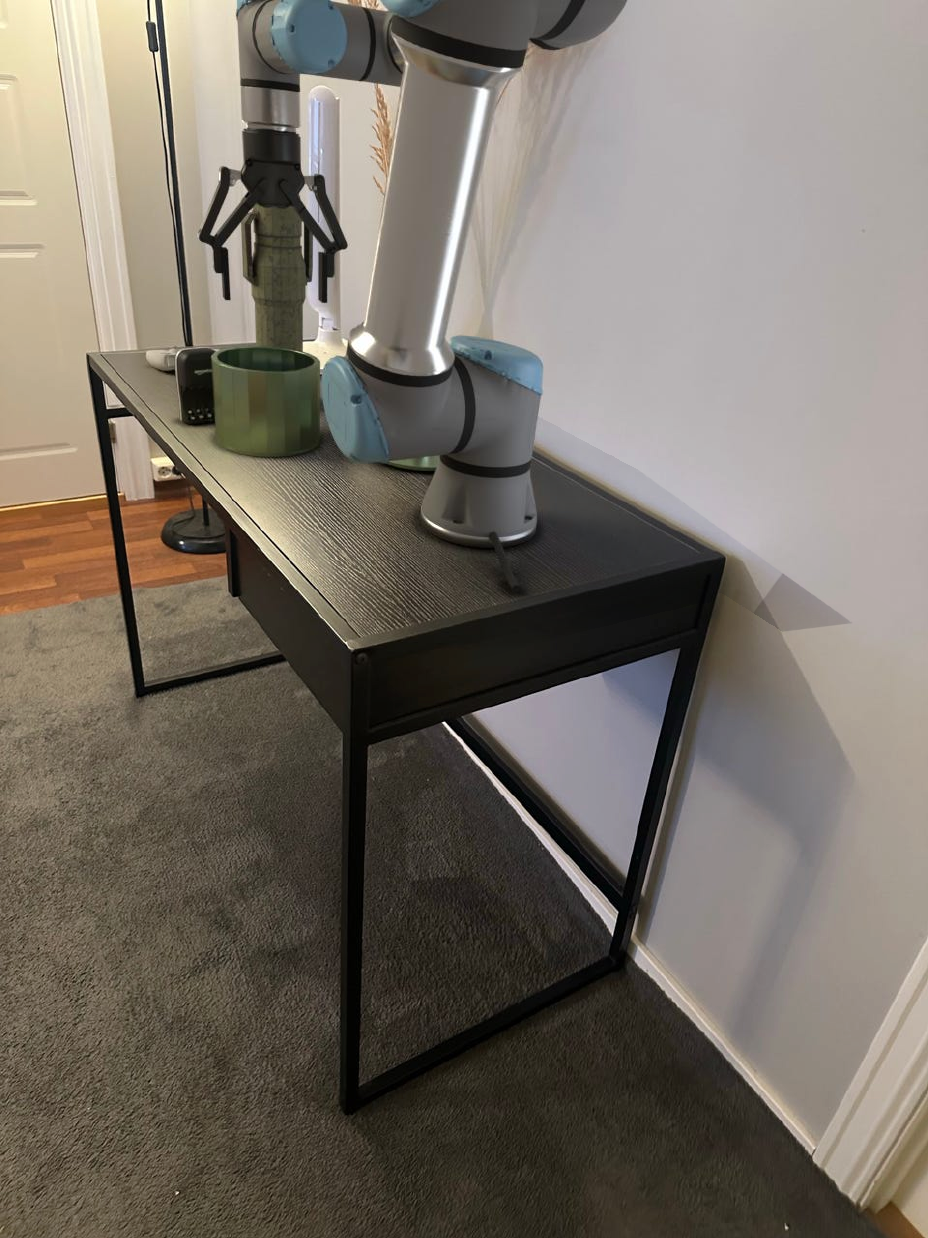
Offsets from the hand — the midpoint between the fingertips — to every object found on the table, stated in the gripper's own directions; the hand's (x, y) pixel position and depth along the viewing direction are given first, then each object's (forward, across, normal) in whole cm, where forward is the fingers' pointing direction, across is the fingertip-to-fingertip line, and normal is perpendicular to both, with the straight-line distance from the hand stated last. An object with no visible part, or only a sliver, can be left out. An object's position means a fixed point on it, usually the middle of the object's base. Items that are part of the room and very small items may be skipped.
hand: (275, 300), depth 119 cm
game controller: (+20, +10, -43) cm, 49 cm away
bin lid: (+21, -21, +8) cm, 30 cm away
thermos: (+21, -4, -21) cm, 30 cm away
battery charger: (+21, +10, -11) cm, 26 cm away
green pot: (+21, +2, -1) cm, 21 cm away
